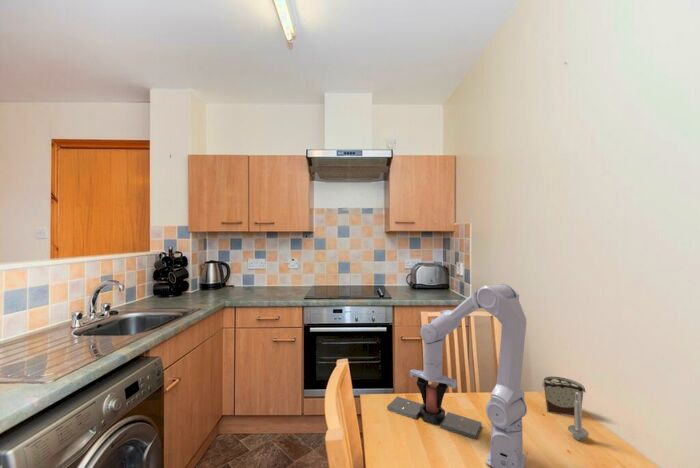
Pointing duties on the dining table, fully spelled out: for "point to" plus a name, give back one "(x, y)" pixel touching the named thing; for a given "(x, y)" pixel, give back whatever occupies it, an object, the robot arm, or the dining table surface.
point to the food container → (561, 394)
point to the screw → (578, 420)
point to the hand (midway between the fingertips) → (432, 405)
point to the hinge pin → (431, 399)
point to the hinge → (436, 417)
